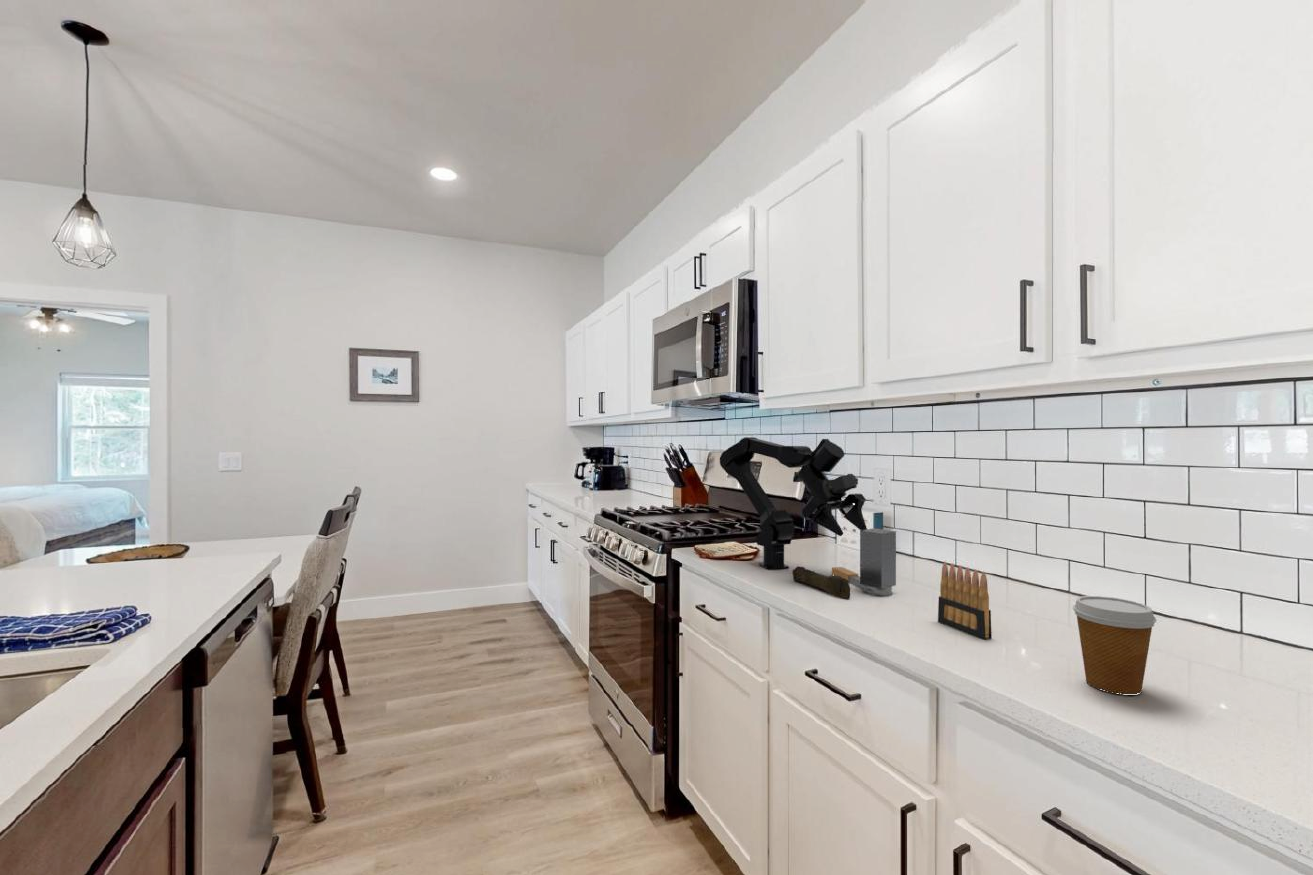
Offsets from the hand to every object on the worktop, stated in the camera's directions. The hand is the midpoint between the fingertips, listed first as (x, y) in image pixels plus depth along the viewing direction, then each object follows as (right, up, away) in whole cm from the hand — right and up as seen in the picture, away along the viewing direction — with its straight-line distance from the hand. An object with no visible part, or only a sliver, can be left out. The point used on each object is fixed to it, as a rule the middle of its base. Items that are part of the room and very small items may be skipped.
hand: (854, 533), depth 140 cm
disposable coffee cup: (+18, -13, -56) cm, 60 cm away
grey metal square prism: (+4, -11, -5) cm, 13 cm away
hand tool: (-8, -13, -2) cm, 16 cm away
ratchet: (+2, -13, +3) cm, 14 cm away
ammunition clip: (+10, -13, -31) cm, 35 cm away
